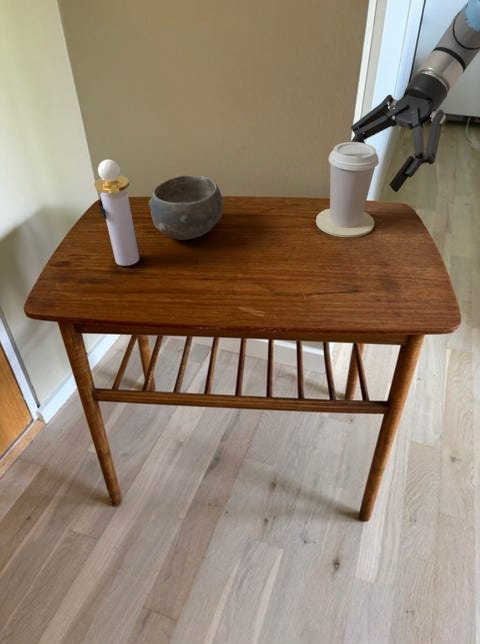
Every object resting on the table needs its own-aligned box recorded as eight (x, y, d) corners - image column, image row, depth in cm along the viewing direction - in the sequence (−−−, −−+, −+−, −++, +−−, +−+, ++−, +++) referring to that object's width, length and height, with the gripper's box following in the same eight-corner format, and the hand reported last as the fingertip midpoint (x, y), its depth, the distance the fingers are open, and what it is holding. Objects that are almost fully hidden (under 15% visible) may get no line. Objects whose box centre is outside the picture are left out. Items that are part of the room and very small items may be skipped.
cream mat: (385, 222, 102) (385, 220, 101) (350, 244, 95) (350, 241, 95) (339, 204, 108) (339, 201, 108) (304, 223, 102) (304, 220, 102)
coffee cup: (318, 228, 99) (325, 156, 89) (326, 207, 106) (333, 138, 96) (366, 234, 97) (378, 161, 87) (370, 212, 104) (382, 142, 94)
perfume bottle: (141, 252, 95) (123, 151, 82) (144, 268, 91) (126, 165, 77) (112, 256, 94) (88, 155, 81) (113, 272, 90) (89, 169, 76)
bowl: (234, 221, 103) (233, 177, 97) (204, 259, 92) (200, 212, 86) (176, 211, 107) (171, 167, 101) (141, 246, 96) (132, 200, 90)
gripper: (493, 111, 90) (422, 208, 93) (389, 82, 105) (332, 166, 109) (485, 85, 84) (410, 189, 87) (376, 59, 100) (316, 148, 103)
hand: (366, 177), depth 98 cm, fingers open, 13 cm apart
